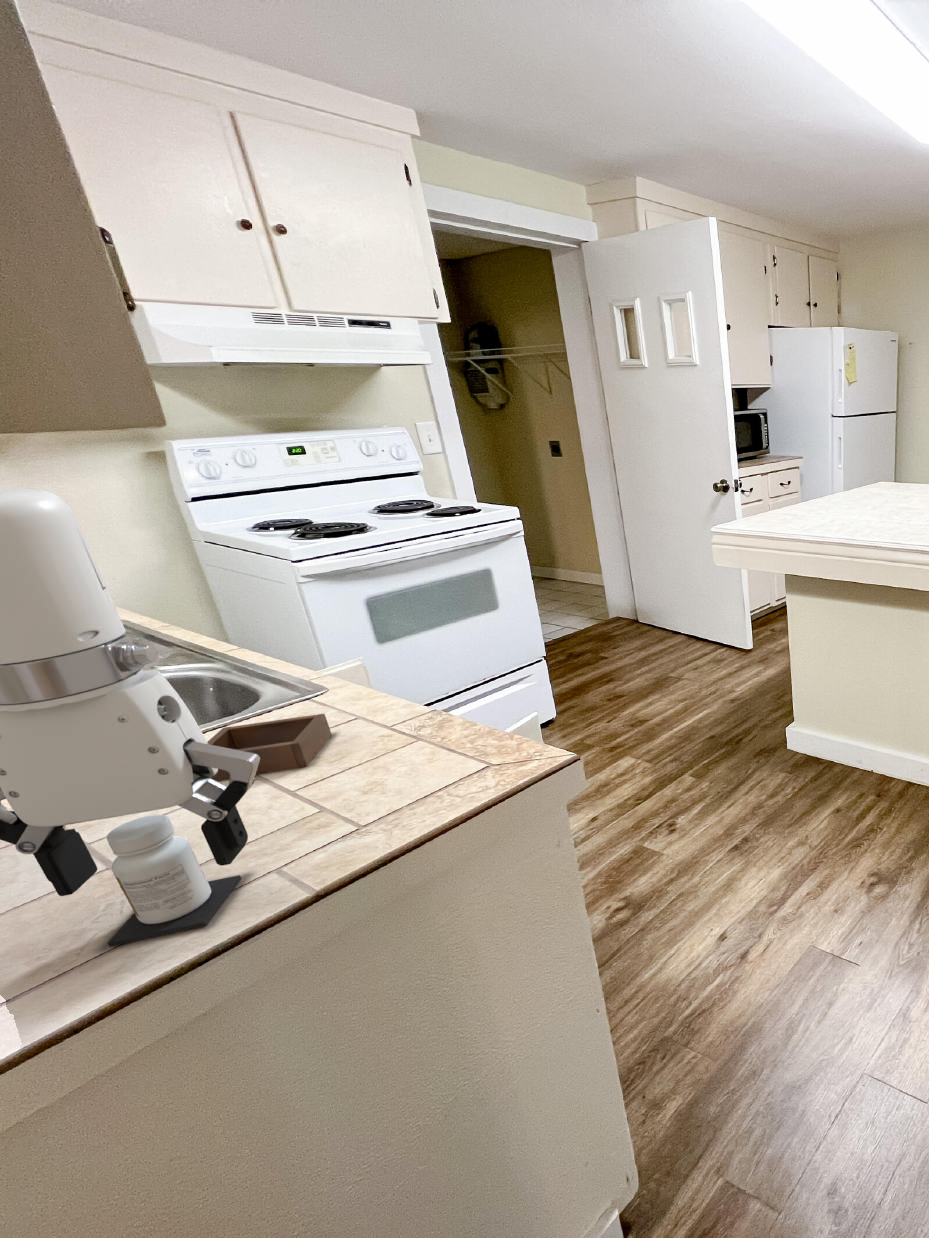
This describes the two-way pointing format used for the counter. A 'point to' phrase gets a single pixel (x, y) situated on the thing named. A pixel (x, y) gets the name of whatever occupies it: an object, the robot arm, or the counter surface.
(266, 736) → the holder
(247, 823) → the counter surface
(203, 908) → the coaster
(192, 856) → the pill bottle
